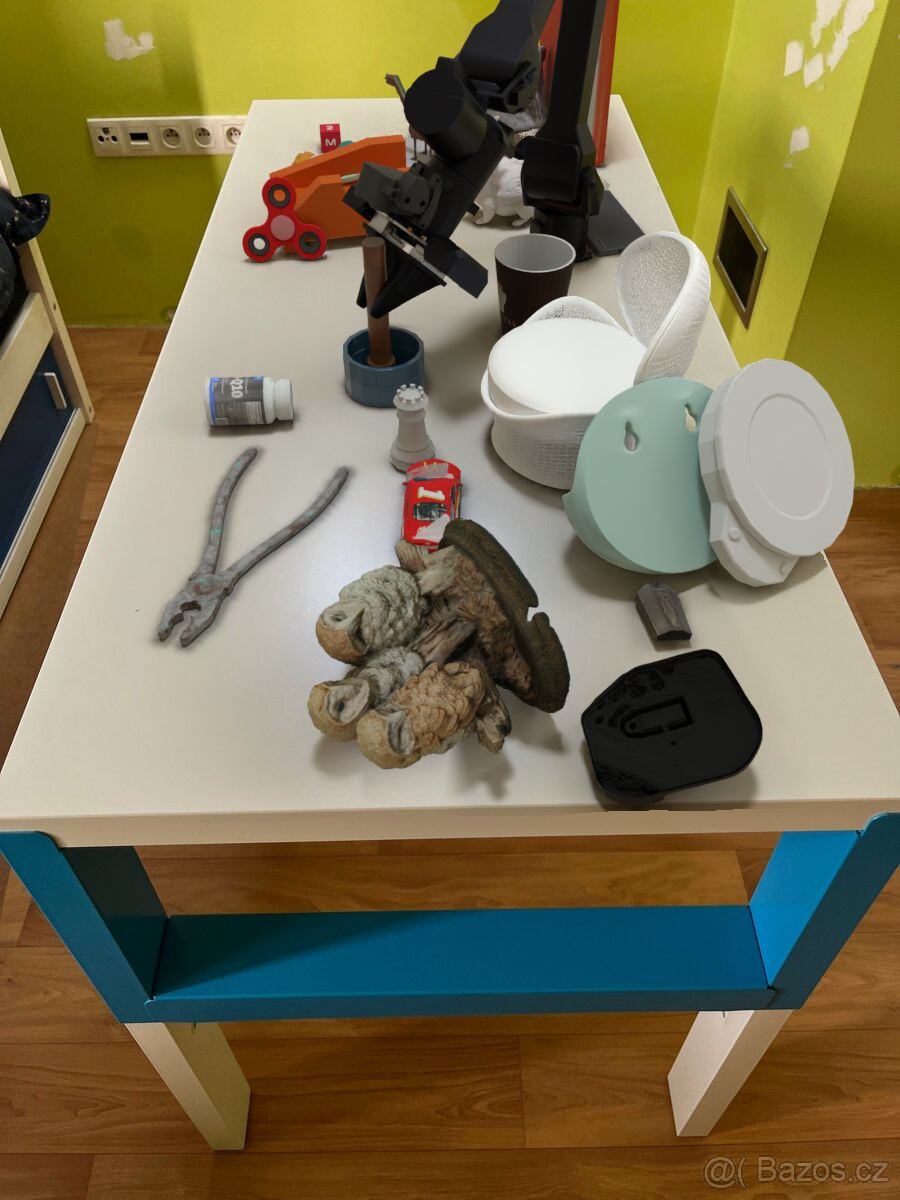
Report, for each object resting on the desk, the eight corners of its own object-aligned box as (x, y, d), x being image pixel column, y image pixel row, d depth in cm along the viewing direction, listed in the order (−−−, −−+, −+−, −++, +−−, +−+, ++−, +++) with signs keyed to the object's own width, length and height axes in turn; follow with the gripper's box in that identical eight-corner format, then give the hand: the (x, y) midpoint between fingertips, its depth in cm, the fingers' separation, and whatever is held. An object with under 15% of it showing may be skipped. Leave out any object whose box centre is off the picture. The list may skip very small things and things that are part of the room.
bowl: (404, 355, 110) (403, 318, 106) (438, 394, 105) (437, 357, 101) (334, 374, 107) (330, 338, 104) (365, 415, 102) (362, 378, 99)
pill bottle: (205, 368, 99) (290, 366, 100) (213, 407, 103) (294, 404, 103) (201, 396, 96) (288, 393, 97) (209, 435, 100) (293, 432, 100)
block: (653, 648, 80) (656, 633, 78) (630, 596, 84) (633, 580, 82) (696, 642, 80) (700, 627, 79) (671, 590, 84) (675, 575, 83)
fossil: (454, 138, 148) (510, 171, 151) (479, 136, 135) (540, 172, 139) (500, 35, 144) (557, 72, 147) (531, 23, 131) (592, 64, 135)
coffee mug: (563, 360, 109) (570, 275, 102) (486, 352, 110) (488, 268, 103) (575, 306, 117) (583, 225, 110) (503, 299, 118) (506, 218, 111)
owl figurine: (596, 667, 65) (367, 787, 60) (570, 742, 75) (371, 851, 70) (457, 481, 73) (244, 572, 68) (449, 571, 83) (263, 657, 78)
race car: (408, 474, 95) (406, 440, 93) (464, 475, 95) (464, 442, 92) (394, 569, 86) (392, 535, 83) (457, 571, 86) (457, 537, 83)
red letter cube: (321, 144, 150) (319, 124, 148) (341, 143, 150) (339, 123, 148) (321, 152, 148) (319, 132, 146) (341, 151, 148) (340, 131, 146)
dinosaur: (342, 168, 143) (335, 88, 136) (415, 128, 154) (413, 51, 146) (443, 199, 136) (442, 116, 128) (513, 154, 147) (516, 76, 139)
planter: (729, 541, 94) (683, 374, 92) (783, 536, 87) (735, 355, 85) (565, 604, 87) (512, 423, 85) (611, 603, 80) (554, 407, 78)
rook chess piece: (442, 451, 98) (441, 382, 92) (426, 479, 95) (424, 409, 89) (400, 442, 99) (396, 374, 93) (383, 469, 96) (378, 400, 90)
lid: (664, 533, 79) (692, 527, 76) (718, 330, 85) (746, 318, 83) (800, 623, 87) (830, 620, 84) (840, 431, 93) (869, 422, 90)
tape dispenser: (404, 196, 137) (401, 134, 131) (423, 238, 128) (422, 173, 122) (274, 210, 134) (265, 147, 128) (285, 253, 126) (276, 188, 120)
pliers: (250, 450, 98) (114, 626, 82) (249, 444, 98) (111, 620, 81) (351, 471, 96) (232, 658, 79) (350, 465, 95) (230, 651, 79)
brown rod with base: (388, 356, 107) (381, 232, 97) (400, 370, 105) (394, 245, 95) (362, 363, 106) (353, 238, 96) (374, 377, 104) (365, 252, 94)
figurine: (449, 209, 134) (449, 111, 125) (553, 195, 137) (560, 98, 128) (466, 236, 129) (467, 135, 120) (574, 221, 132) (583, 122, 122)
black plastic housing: (777, 762, 66) (776, 788, 70) (729, 639, 72) (730, 670, 76) (604, 809, 68) (612, 831, 72) (569, 684, 73) (579, 712, 77)
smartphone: (558, 202, 135) (598, 256, 125) (558, 196, 134) (598, 250, 125) (609, 195, 136) (652, 248, 126) (609, 189, 135) (653, 242, 126)
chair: (480, 380, 106) (484, 196, 91) (666, 383, 105) (700, 198, 91) (478, 502, 92) (482, 308, 78) (692, 506, 92) (736, 311, 77)
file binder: (548, 167, 143) (566, -98, 120) (533, 121, 155) (547, -128, 132) (603, 166, 144) (631, -99, 121) (585, 120, 156) (607, -129, 132)
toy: (245, 261, 125) (244, 263, 124) (234, 177, 119) (233, 179, 119) (328, 258, 125) (327, 260, 124) (320, 174, 120) (320, 175, 119)
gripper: (351, 96, 95) (264, 237, 99) (463, 162, 84) (361, 318, 88) (421, 159, 104) (339, 287, 107) (531, 226, 93) (436, 365, 97)
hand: (366, 311), depth 100 cm, fingers closed on brown rod with base, 2 cm apart
